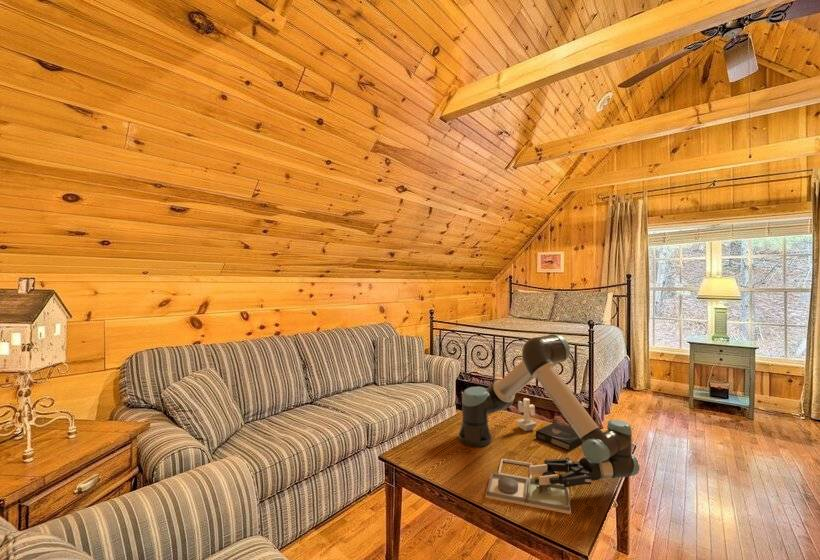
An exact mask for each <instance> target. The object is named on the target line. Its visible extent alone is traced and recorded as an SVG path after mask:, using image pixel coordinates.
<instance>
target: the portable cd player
mask: <svg viewBox="0 0 820 560" xmlns="http://www.w3.org/2000/svg"><path fill="white" fill-rule="evenodd" d="M535 432H536V433H535V439H537V440H540V441H543V442H544V443H546V444H549V445H551V446H554V447H557V448H560V449H561V450H565V451H566V452H571V451H573V450H575V449H576V448H578V447H581V446H582V444H583V442H582V440H581V439H580V438H579V436H578V435H577V433H576V432H575V431H574V429H573V428H572V426H571V425H567V424H564V423H561V422H558V421H555V422H552V423H550V424H548V425H545V426H543V427H542V428H539V429H537V430H536V431H535Z"/></svg>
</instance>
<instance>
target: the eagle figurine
mask: <svg viewBox="0 0 820 560" xmlns="http://www.w3.org/2000/svg"><path fill="white" fill-rule="evenodd" d="M554 474H557V473H556V471H548V472H545V473H541V476H545V475H554ZM531 481H532V483H533V484H539V477H537V476H536V477H534V476H533V477H532V478H531ZM536 487H537V488H539V494H540V493H541V492H542V491H543V489H547V490H548V491H549V492H550V493H551V490H550V488H549V487H550V486H549V484H548V485H539V487H538V486H536ZM551 488H552V487H551Z"/></svg>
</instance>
